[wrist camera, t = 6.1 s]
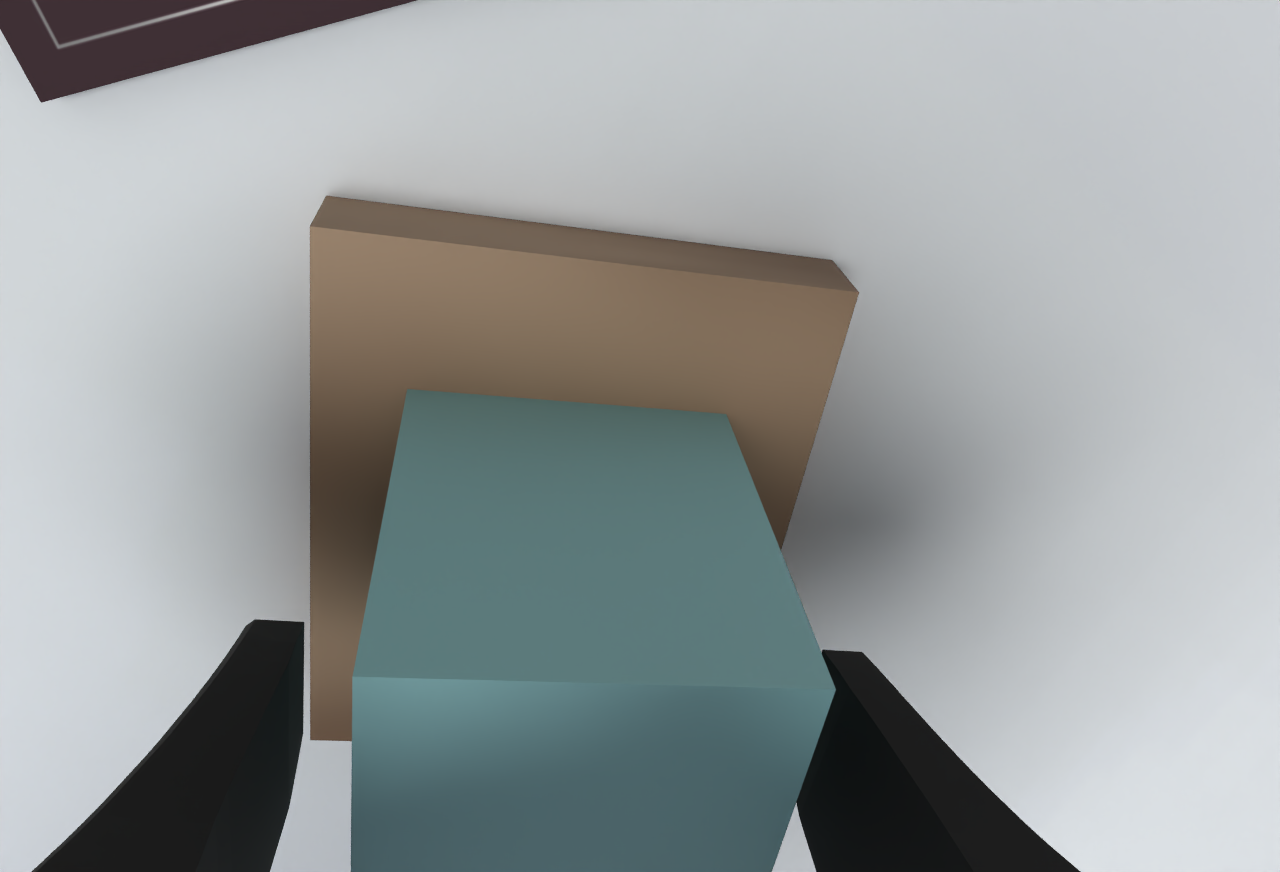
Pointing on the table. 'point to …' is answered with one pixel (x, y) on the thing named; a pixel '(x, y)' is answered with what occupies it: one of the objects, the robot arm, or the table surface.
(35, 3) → the chocolate bar
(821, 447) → the table surface
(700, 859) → the teal block
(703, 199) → the table surface
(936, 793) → the robot arm
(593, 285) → the walnut slab
